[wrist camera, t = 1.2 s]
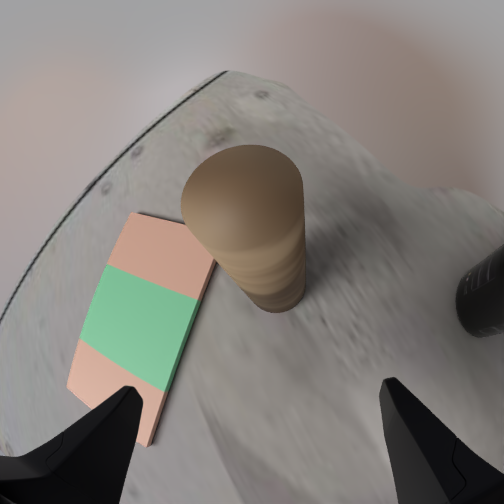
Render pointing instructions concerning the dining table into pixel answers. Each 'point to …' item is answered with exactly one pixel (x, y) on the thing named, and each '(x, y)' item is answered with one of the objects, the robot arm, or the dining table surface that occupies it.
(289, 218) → the walnut peg
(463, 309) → the supplement bottle
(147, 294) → the board
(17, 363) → the dining table surface
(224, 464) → the dining table surface
